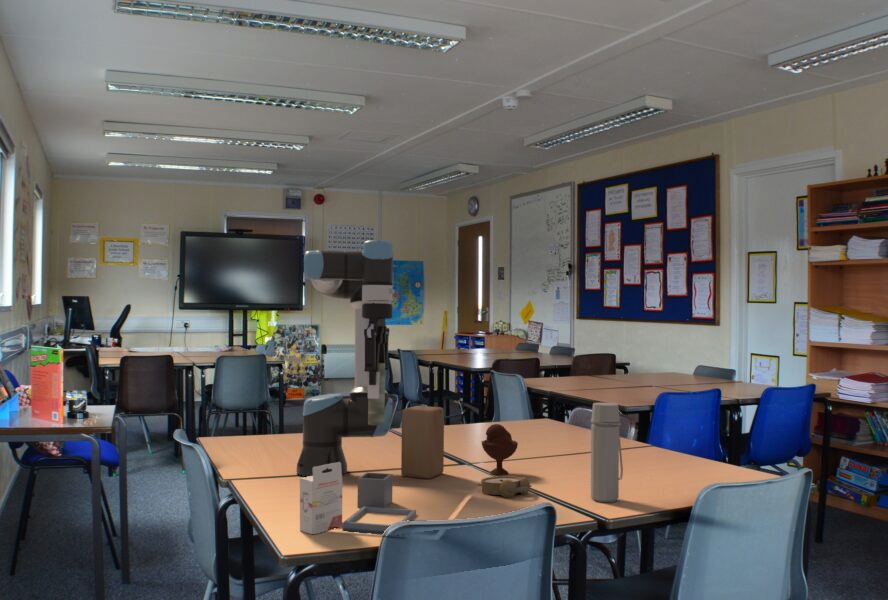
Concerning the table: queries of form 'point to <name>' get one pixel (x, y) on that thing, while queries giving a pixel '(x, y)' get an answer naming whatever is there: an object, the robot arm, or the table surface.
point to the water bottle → (605, 452)
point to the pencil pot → (375, 490)
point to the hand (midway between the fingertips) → (376, 397)
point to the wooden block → (422, 442)
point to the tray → (374, 528)
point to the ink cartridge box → (321, 499)
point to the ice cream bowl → (499, 446)
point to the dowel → (378, 401)
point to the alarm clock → (505, 485)
